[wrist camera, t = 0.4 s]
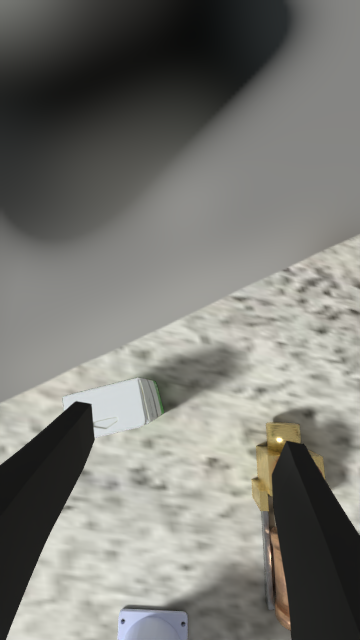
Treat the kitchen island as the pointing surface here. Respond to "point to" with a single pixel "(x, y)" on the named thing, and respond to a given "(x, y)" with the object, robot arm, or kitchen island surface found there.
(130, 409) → the ink box
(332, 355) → the kitchen island surface
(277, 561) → the coupling
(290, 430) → the valve
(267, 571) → the rails
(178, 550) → the kitchen island surface
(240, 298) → the kitchen island surface
